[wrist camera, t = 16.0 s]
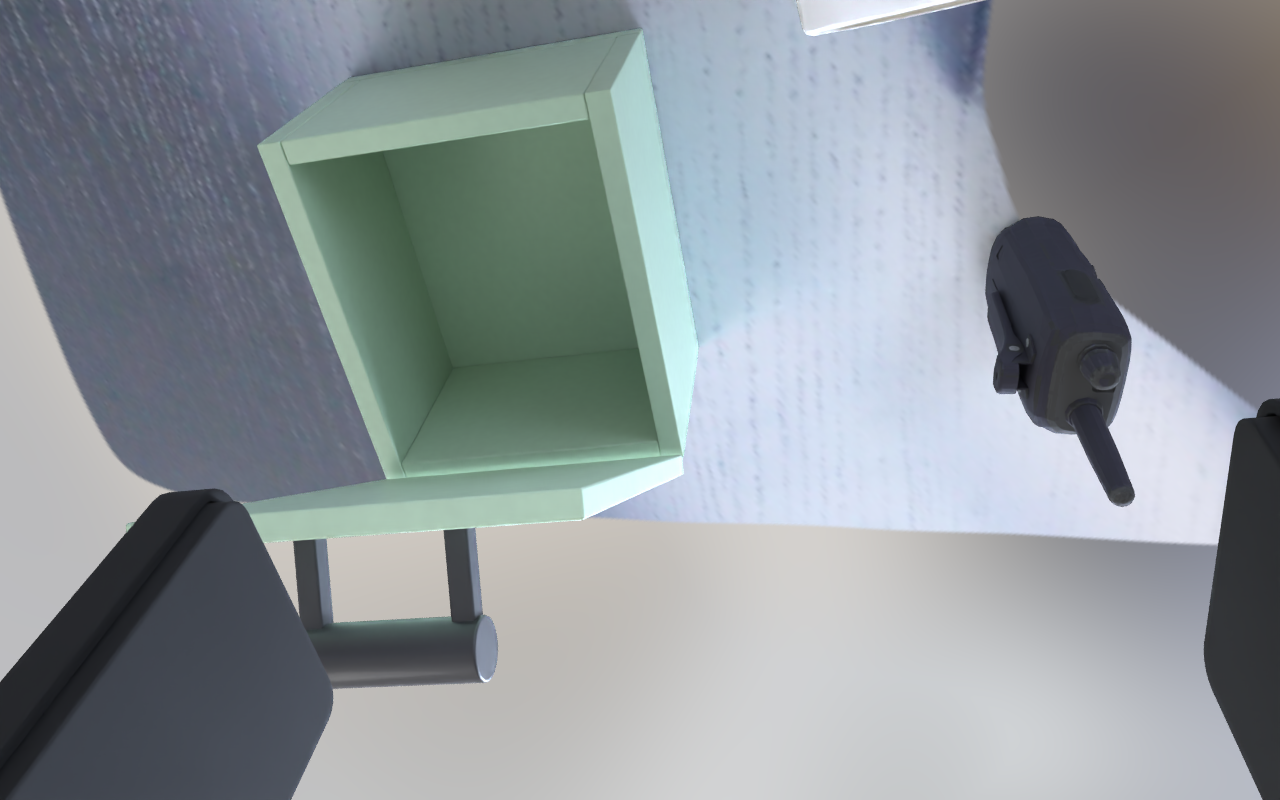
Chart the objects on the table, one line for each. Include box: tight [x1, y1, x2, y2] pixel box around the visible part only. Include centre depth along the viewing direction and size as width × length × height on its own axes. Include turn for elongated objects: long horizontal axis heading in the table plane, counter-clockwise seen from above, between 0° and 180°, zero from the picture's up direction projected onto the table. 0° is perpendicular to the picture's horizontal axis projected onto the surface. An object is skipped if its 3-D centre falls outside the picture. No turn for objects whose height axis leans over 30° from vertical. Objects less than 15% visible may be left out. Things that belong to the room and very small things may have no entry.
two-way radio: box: [985, 216, 1135, 507], centre depth 38 cm, size 6×4×15 cm
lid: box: [126, 455, 683, 689], centre depth 34 cm, size 16×13×5 cm
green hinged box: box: [257, 28, 699, 479], centre depth 42 cm, size 15×13×9 cm
